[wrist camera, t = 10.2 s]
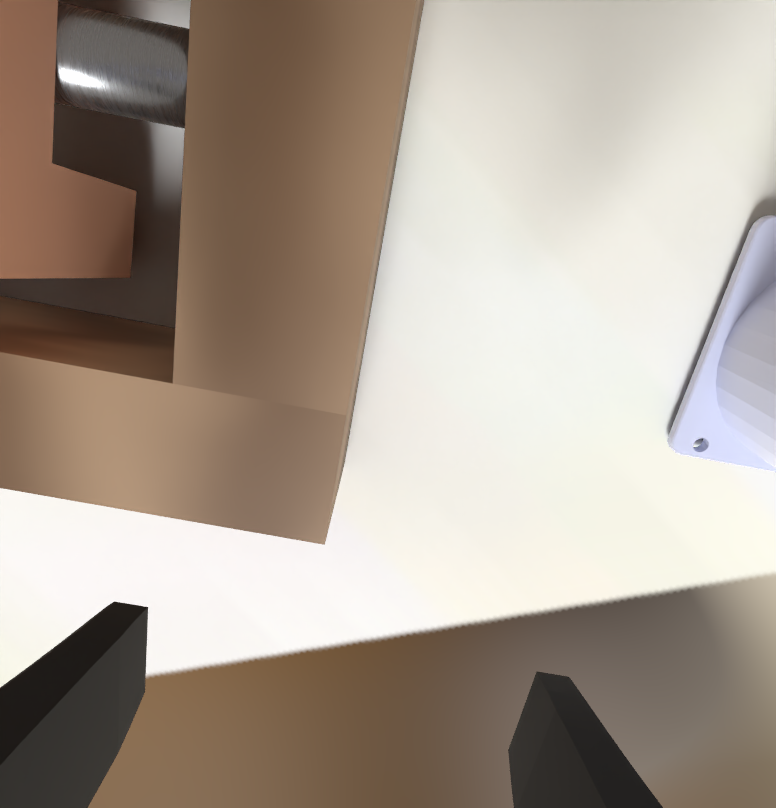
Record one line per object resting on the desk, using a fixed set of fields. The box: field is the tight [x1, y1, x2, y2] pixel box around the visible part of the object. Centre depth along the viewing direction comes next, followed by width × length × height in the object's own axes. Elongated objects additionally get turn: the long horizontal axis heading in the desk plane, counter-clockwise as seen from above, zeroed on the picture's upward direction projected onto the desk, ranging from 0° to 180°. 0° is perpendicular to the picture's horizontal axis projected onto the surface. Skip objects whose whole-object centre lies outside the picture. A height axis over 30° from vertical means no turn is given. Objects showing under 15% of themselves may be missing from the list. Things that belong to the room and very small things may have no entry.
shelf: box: [0, 0, 424, 545], centre depth 14 cm, size 18×22×5 cm
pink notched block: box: [0, 0, 137, 279], centre depth 12 cm, size 4×10×6 cm, turn 170°
